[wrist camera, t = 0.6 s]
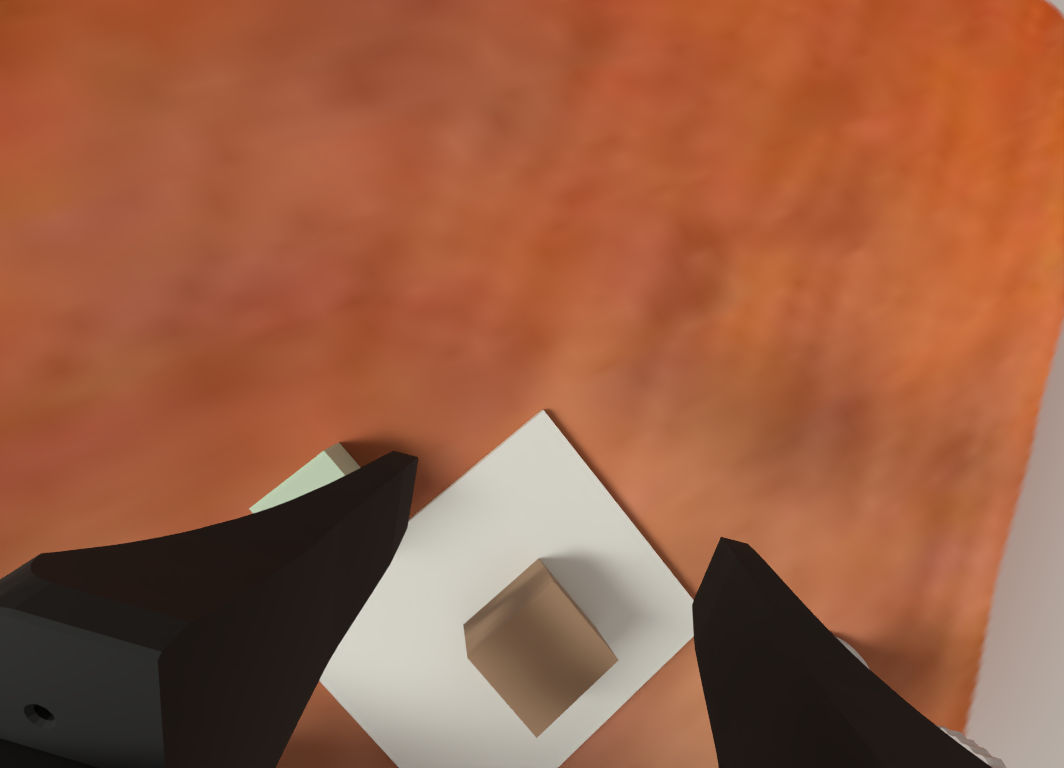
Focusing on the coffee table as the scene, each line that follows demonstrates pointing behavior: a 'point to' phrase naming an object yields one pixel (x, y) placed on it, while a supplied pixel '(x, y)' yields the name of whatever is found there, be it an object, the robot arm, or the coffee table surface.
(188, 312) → the coffee table surface
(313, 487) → the sage block
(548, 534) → the baseplate
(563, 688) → the walnut block
